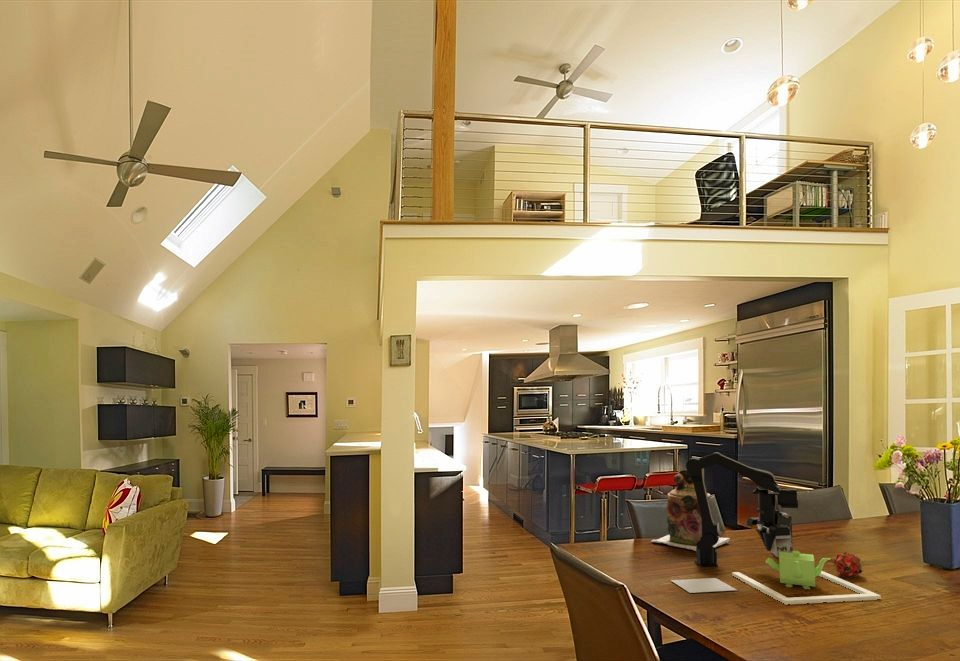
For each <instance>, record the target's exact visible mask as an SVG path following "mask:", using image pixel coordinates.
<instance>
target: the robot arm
mask: <svg viewBox="0 0 960 661" xmlns="http://www.w3.org/2000/svg"><path fill="white" fill-rule="evenodd" d="M713 465H719V466H721V467H722V468H725V469H727V470H730V471H731V472H732V471H733V472H735V473H736V474H739V475H741V476H743V477H745V478H747V479H749V480H750V481H751V482H753V483H754V484H756V485H757V486H756V488H755V489H754V490H753V491H752V494H753V495H757V497H758V498H757V499H758V508H756V512H757V513H758V517H748V518H747V520H746V525H747V526H748V527H751V528H753V526H757V529H755V531H756V532H757V534H758V537H759V538H760V540H761V541H762V543H763V546H764V548H765V550H766V551H768V552H771V549H772V546H773V542H774V540H775V537H776V536H789V535H791V531H790V529H789V528H790V525H791V522H792V523H793V518H792V519H790V518H787V517H784V516H782V513H780V512H781V511H779V510H778V509H777V505H779V506H780V508H781V509H794V510H795V509H796V510H798V509H799V498H798V489H796V488H791V489H790V488H787V489H786V488H781V487H780V485H779V484H778V483H777V482H776V478H775V475H774V474H773V473H772V472H771V471H768V470H766V469H760V468H755V467H751V466H749V465H746V464H744V463H742V462H740V461H737V460H736V459H733V458H730V457H729V456H726V455H724V454H721V452H717V451H716V452H713V453H711V454H708V455H705V456H702V457H697V456H695V457H691V458H690V459H689V460H687V462H686V463H685V468H686V469H687V471H688V474H689V476H690V478H691V480H692V482H693V484H694V488H695V493H696V497H697V501H698V506H699V510H700V515H701V519H702V537H701V538H699V540H698V542H697V543H696V545H697V547H696V551H695V552H696V559H695V560H694V563H695V564H697V565H699V566H701V567H718V566H719V564H718V554H717V553H718V552H717V551H716V550H717V549H716V548H717V547H713V545H715V544H716V543H717V542H718V540H719V538H721V534H722V531H721V529H720V522H719V521H717V522H715V520H714V518H713V515H712V514H713V513H712V510H711V506H710V505H709V504H710V500H708V496H707V493H708V492H707V487H706V484H705V469H706V468H708V467H711V466H713ZM776 496H777V497H776ZM776 498H777V500H776ZM776 501H777V503H776ZM783 525H784V526H783ZM786 526H787V527H786ZM788 527H789V528H788Z"/></svg>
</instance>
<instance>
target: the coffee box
mask: <svg viewBox="0 0 960 661" xmlns="http://www.w3.org/2000/svg"><path fill="white" fill-rule="evenodd" d="M779 512H780V513H782V516H784V517H787V518H790V519H792V520H793V518H792V517H793V516H792V515H791V514H789V513H787V512H786V511H779ZM783 526H784V525H783ZM786 527H787V526H786ZM788 528H789V527H788ZM789 529H790V531H791V535H789V536H776V537H775V540H774V542H773V546H772V549H771V551H770V553H772V554H773V555H774V556H775V558H779V552H789V553H792V551H794V543H793V521H792V522H791V525H790V528H789Z"/></svg>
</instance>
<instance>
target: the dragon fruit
mask: <svg viewBox="0 0 960 661" xmlns="http://www.w3.org/2000/svg"><path fill="white" fill-rule="evenodd" d="M834 558H835V559H834V561H833V566H834V568H836V573H839V574H840V576H841V577H842V578H848V577H853V576H854V578H855V577H857V576H858V575H860V574H862V573H863V567H862V564H861V558H859V557H858V556H855V554H854V553H852V552H851V553H850V552H849V553H848V552H847V551H844V552H842V553H841V554H837V555H836V556H835V557H834Z"/></svg>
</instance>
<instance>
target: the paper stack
mask: <svg viewBox="0 0 960 661" xmlns="http://www.w3.org/2000/svg"><path fill="white" fill-rule="evenodd" d="M670 581H671V582H672V583H674V584H675V585H677V586H679V588H681V589H683V590H684V591H686V592H688V593H690V594H692V593H695V594H696V593H710V592H711V593H712V592H727V591H737V589H736V588H734V587H733V586H731V585H729V584H727V583H726V582H724V581H722V580H720V579H718V578H716V577H709V578H707V577H706V578H705V577H704V578H690V579H689V578H687V579H671V580H670Z"/></svg>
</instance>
